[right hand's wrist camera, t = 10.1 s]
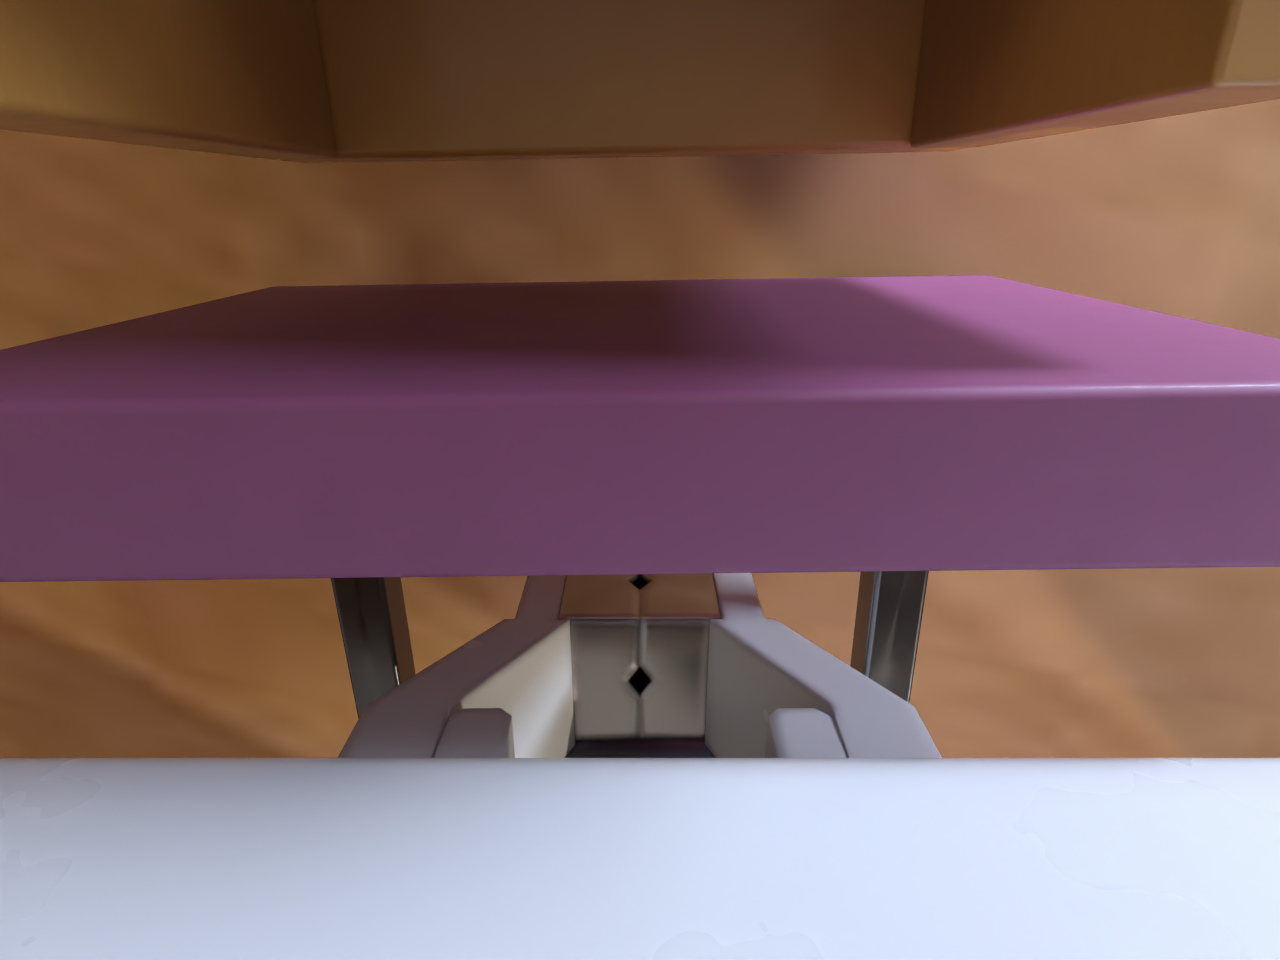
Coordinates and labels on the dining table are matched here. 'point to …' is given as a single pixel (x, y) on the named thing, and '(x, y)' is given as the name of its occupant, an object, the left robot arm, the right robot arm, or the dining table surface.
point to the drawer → (631, 320)
